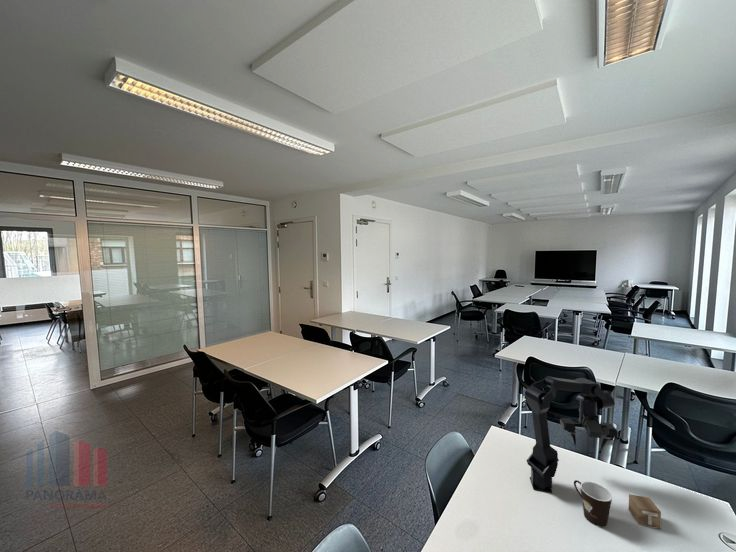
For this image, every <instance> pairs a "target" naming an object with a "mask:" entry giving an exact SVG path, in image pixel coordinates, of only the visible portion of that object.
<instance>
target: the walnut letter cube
mask: <svg viewBox="0 0 736 552" xmlns="http://www.w3.org/2000/svg"><path fill="white" fill-rule="evenodd" d="M628 512H629V513H630V515H631V516H632V518H633V519H634V520H635V522H636V523H637V525H640V526H645V527H650V528H655V529H660V530H661V528H662V527H661V524H662V523H661V522H662V521H661V520H662V512H661V510H660V509H659V507H658V506H657V505H656V504H655V503H654V501H653V500H652V498H650V497H647V496H642V495H636V494H630V493H629V494H628Z"/></svg>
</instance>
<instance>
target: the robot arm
mask: <svg viewBox="0 0 736 552" xmlns="http://www.w3.org/2000/svg"><path fill="white" fill-rule="evenodd" d="M548 387H549V388H550V389H549V391H548V392H545V391H543V390H542V389H546V388H548ZM560 390H561V391H567V392H568V391H569V392H576V393H579V394H578V395H577V396H576V397H575V400H578V401H579V408H578V412H579V417H578V422H574V421H573V420H572V418H570V417H569V418H567V417H561V418H560V420H559V424H560V425H561V427H562V429H563V430H564V431H566V432H567V433H569V435H570V438H571V441H572V444H573V445H574V447H575V446H576V445H577V439H576V434H577V432H576V429H584V430H585V431H586V434H587V436H588V437H590V438H597V439H598V441H599V443H598V444H599V449H600V450H603V448H604V446H605V445H606V443H607V441H608V440H611V439H615V438H619V431H618V429H617V428H616V427H615V426H614V425H613V424H612V423H607V422H600V420H599V416H598V410H605V409H609V408H610V409H611V408H613V407H614V406H615V403H616V402H615V401H614V399H613V397H612V396H611V393H610V391H607V390H602V388H601V386H600V384H599V383H597V382H594V381H592V380H590V379H587V378H584V377H577V378H576V379H568V378H560V377H559V378H558V377H554V376H553V377H552V376H548V375H547V376H545V377H544V378H543V379H542V380H541V379H540V380H538V381H535V382H533V383H531V384H530V386H529V387H527V388H526V390H525V391H524V397H525V400H526V403H527V405H528V406H529V408H530V409H531V413H532V414H531V415H532V421H533V430H534V437H535V444H534V446H533V447H532V452H531V454H530V455H529V457H528V458H527V459H526V464H527V465H528V466H529V467H530V476H529V480H530V483H531V487H532V490H534V491H539V492H545V493H551V494H552V493H553V490H552V488H553V478H555V475H556V473H557V468H558V465H559V464H558V463H559V461H560V459H559V457H558V455H559V454H558V450H557V449H555V448H554V447H552V446H551V440H550V431H549V422H548V417H547V416H548V414H547V412H548V411H549V409H550V407H551V403H552V402H553V401H554V400H555V399H556V395H557V392H558V391H560Z"/></svg>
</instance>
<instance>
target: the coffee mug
mask: <svg viewBox="0 0 736 552" xmlns="http://www.w3.org/2000/svg"><path fill="white" fill-rule="evenodd" d="M577 483H578V484H579V485H580V491H579V489H578V487H577ZM573 486H574V488H575V491H576V492H577V494H578V495H579V497H580V498H581V501H582V509H583V517H584V518H585V520H586V521H587V522H589V523H590V524H592V525H594V526H596V527H599V528H606V527H607V526H608V522H609V516H610V511H611V505H612V501H613V496H612V493H611V492H610V491H609V490H608V489H607V488H605V487H604V486H602V485H600V484H598V483H595V482H592V481H583V482H581V481H579V480H576V479H575V480H573Z"/></svg>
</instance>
